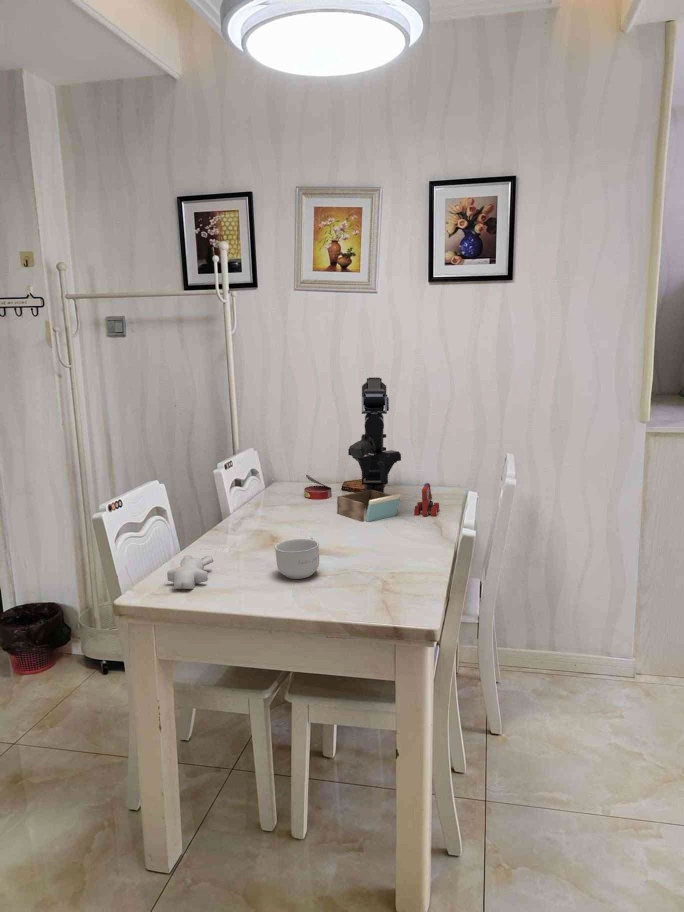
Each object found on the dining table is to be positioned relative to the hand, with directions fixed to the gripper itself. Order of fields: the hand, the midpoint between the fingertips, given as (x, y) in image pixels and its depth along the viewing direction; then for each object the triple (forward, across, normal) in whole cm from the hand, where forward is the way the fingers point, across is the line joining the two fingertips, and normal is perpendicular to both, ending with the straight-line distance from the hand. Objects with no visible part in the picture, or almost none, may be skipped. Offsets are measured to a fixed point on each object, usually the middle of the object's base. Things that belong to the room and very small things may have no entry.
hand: (374, 480), depth 211 cm
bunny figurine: (+14, +10, -68) cm, 71 cm away
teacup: (+14, +24, -45) cm, 53 cm away
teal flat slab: (+11, +4, 0) cm, 12 cm away
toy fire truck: (+13, +8, +16) cm, 22 cm away
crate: (+13, -3, 0) cm, 13 cm away
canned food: (+13, -36, +5) cm, 39 cm away
